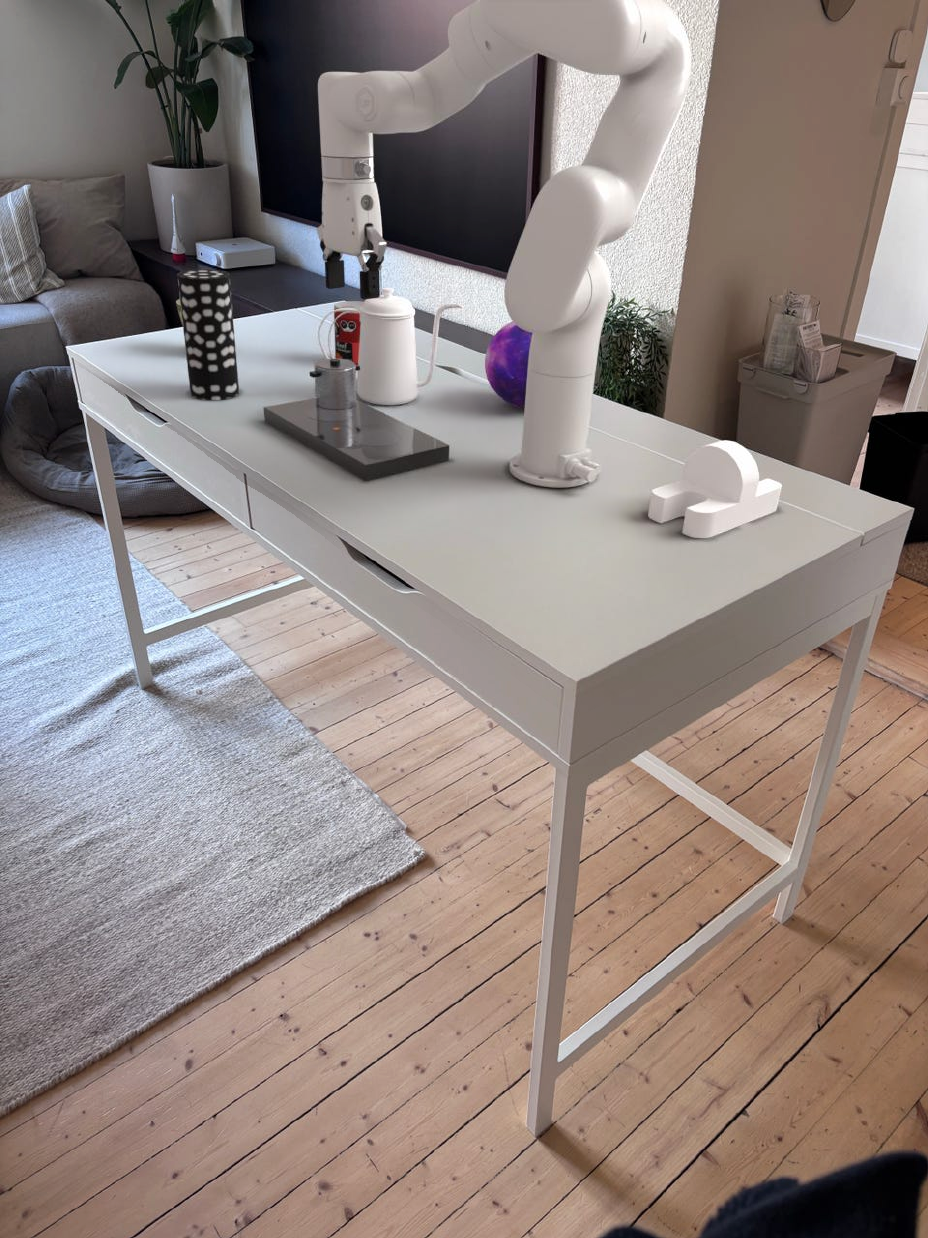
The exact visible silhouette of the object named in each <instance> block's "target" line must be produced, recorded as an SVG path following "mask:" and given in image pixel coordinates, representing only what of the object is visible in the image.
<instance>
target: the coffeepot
mask: <svg viewBox="0 0 928 1238" xmlns="http://www.w3.org/2000/svg"><path fill="white" fill-rule="evenodd" d="M394 292H395V289H394V288H393V287H386V286H385V287H381V288H380V293H383V294H380V297H379V298H373V299H365V300H364V301H363V302H364V303H363V306H362V307H361V308H360V310H358V309H354V308H341V309H336V310H334V309H333V310H332V311H330V312H328V313H327V314H326V316H324V318H323V319H322V320H321V322H320V325H319V327H318V333H317V334H318V335H317V337H318V338H317V339H318V345H319V348H320V349H321V352H322V354H323V356H324V359H336V358H335V355H334V354H335V353H334V351H333V349H332V341H331V339H332V338H331V337H332V329H333V328H334V327H333V326H334V322H335V321H336V319H337V318H338V317H340V316H341V315H343V314H345V313H348V312H354V313H357V312H358V313H359V314H360V322H361V326H360V343H359V359H358V365H359V366H360V370H358V371H357V375H356V395H357V396H358V397H359V398H360V399H361V400H362V401H364V402H366V403H370V404H373V405H379V406H400V405H404V404H408V403H411V402H413V401H414V400H415V399H416V398H417V397H418V395H419V388H421V387H424V386H426V385H428V384H429V383H430V382H431V380H432V379H433V376H434V371H435V366H436V355H437V346H438V337H439V329H440V328H439V327H440V320H441V316H442V313H443V312H445V311H447V310H449V309H464V308H465V307H464V306H463V305H461V304H460V303H457V302H448V303H444V304H443V305H441V306H440V307H438V309H437V310H436V312H435V315H434V320H433V321H434V322H433V330H432V340H431V349H430V356H429V357H430V358H429V365H428V366H429V367H428V371H427V375H426V378H424V380H421V381H418V366H417V363H418V362H417V349H416V346H417V345H416V332H415V331H416V330H415V328H416V327H415V315H416V309H415V308H414V307H413V305H412V302H411V301H410V300H409V299H407V298H406V297H403V296H399V295H392V294H393V293H394ZM337 311H345V312H343V313H341V314H340V315H339V316H338V317H337V318H336V319H335V320H334V319H333V321H332V323H331V325H330V326H329V330H328V336H327V347H328V351H329V355H330V356H329V355H328V354H327V352H326V350H325V347H324V344H323V340H322V328H323V324H324V322H325V320H326V319H327V318H328V316H330V315H332V314H334V312H337ZM330 357H331V358H330Z"/></svg>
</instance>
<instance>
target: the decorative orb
mask: <svg viewBox="0 0 928 1238" xmlns="http://www.w3.org/2000/svg"><path fill="white" fill-rule="evenodd" d="M532 334H533V333H531V332H528V331H525V330H523V329H521V328H520V327H518V326H517V325H516V324H515V323H514V322H513V320H512V321H510V322H508V323H507V324H505V325H503V326H502V327H501V328H500V329H498V331H496V333H495V334H494V335H493V337H492V339H491V340H490V342H489V344H488V346H487V349H486V353H485V358H484V367H485V368H484V369H485V370H484V371H485V375H486V378H487V381H488V383H489V385H490V387H491V389H492V390H493V392H494V393H495V394H496V395H497V396H498V397H499V398H500V399H502V401H504V402H506V403H508V404H510V405H513V406H514V407H519V408H525V397H526V384H527V371H528V360H529V350H530V343H531V338H532Z"/></svg>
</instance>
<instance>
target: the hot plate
mask: <svg viewBox="0 0 928 1238" xmlns="http://www.w3.org/2000/svg"><path fill="white" fill-rule="evenodd" d="M263 420H264V423H266V424H267V425H269V426H271V427H272V428H274V429H276V430H278V431H279V432H280V433H283V434H285V435H286V436H288V437H289V438H291V439H293V440H294V441H296V442H297V443H300V444H302V445H303V446H305V447H306V448H308V449H309V450H312V451H314V452H315V453H317V454H319V455H321V456H322V457H324V458H326V459H327V460H329V461H330V462H332V463H334V464H336V465H337V466H339V467H341V468H342V469H344V470H346V471H348V472H349V473H351V474H353V475H354V476H356V477H357V478H359V479H361V480H362V481H364V482H369V481H373V480H376V479H381V478H385V477H389V476H393V475H397V474H401V473H406V472H409V471H413V470H418V469H421V468H425V467H428V466H433V465H436V464H441V463H445V462H449V461H450V444H447V443H445V442H444V441H442V440H440V439H438V438H436V437H433V436H431V435H430V434H427V433H426V432H423V431H421V430H420V429H417V428H415V427H413V426H411V425H410V424H407V423H405V422H403V421H400V420H399V419H396V418H395V417H393V416H390V415H389V414H387V413H384V412H382V411H380V410H378V409H376V408H374V407H372V406H370V405H368V404H367V403H364V402H362V401H360V400H358V399H356V405H355V406H354V407H351V408H348V409H340V410H333V409H325V408H321V407H319V406H317V405H316V397H311V398H306V399H301V400H296V401H290V402H285V403H279V404H273V405H268V406H263Z"/></svg>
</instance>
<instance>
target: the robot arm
mask: <svg viewBox="0 0 928 1238" xmlns="http://www.w3.org/2000/svg"><path fill="white" fill-rule="evenodd" d="M447 42H448V47H447V48H446V49H445V50H444V51H443V52H442V53H441V54H439V55H438V56H436V57H435V58H433V59H431V61H428V62H427V63H426V64H423V66H421V67H419V68H417V69H416V70H413V71H408V70H370V71H365V72H355V71H354V72H353V71H327V72H323V73H321V74H320V76H319V78H318V81H317V99H318V117H319V118H318V119H319V135H320V136H319V137H320V140H319V141H320V155H321V156H320V159H321V176H322V177H321V179H322V194H321V195H322V196H321V197H322V198H321V224H320V225H319V226H318V227H317V229H316V231H317V232H316V233H317V236H318V240H319V247H320V249H321V252H322V254H321V255H322V260H323V262H324V274H325V276H324V277H325V287H326V289H329V290H332V289H333V290H334V289H341V288H344V287H345V286H346V278H345V277H346V275H345V260H344V259H342V258H343V255H348V256H351V257H356V258H357V261H358V263H359V265H360V267H361V270H359V297H360V299H361V300H364V301H365V300H366V299H373V298H379V297H380V295H381V285H380V284H381V280H380V271H381V270H382V268H383V267H382V264H383V262H384V261H385V253H386V249H387V246H388V245H387V241H386V240H385V239H384V238H383V226H382V215H381V214H382V213H381V205H380V198H379V197H380V196H379V193H378V187H377V183H376V182H375V163H374V161H375V160H374V158H375V157H374V134H375V135H390V134H391V135H392V134H393V135H394V134H400V133H401V134H402V133H403V134H404V133H419V132H423V131H426V130H430V129H431V128H433V127H435V126H436V125H438V124H440V123H442V122H443V121H445V120H447V119H449V118H450V117H452V116H453V115H455V114H457V113H458V112H460V111H462V110H463V109H464V108H465V107H467V106H469V105H470V103H472V102H473V101H474V100H475V99H476V97H478V95H479V94H481V93H482V91H483V90H484V89H485V87H486V85H487V84H489V83H490V82H492V81H494V80H495V79H497V78H498V77H499V76H500V77H501V75H503V74H506V73H507V72H508V71H510V70H511V69H513V68H515V67H516V66H518V65H519V64H521V63H523V62H524V61H526V60H527V59H529V58H531V57H532V56H533V57H534V55H536V54H539V55H542V56H544V57H546V58H549V59H551V60H553V61H556V62H559V63H561V64H563V65H566V66H568V67H570V68H573V69H576V70H578V71H581V72H584V73H587V74H592V75H598V76H599V75H600V76H618V77H619V81H620V82H619V84H618V87H617V90H616V92H615V93H614V95H613V97H612V99H611V100H610V102H609V104H608V105H607V107H606V108H605V110H604V112H603V114H602V116H601V118H600V120H599V123H598V125H597V128H596V131H595V134H594V136H593V139H592V141H591V143H590V146H589V148H588V150H587V153H586V155H585V157H584V159H583V161H582V162H581V164H580V165H574V166H570V167H566V168H563V169H562V170H560V171H558V172H557V173H555V174H553V176H551V177H549V179H548V180H547V181H546V182H545V184H544V185H543V186H542V188H541V189H540V191H539V192H538V194H537V195H536V197H535V200H534V202H533V204H532V207H531V210H530V212H529V215H528V216H527V220H526V221H525V222H526V223H525V225H524V228H523V229H522V230H523V231H522V233H521V236H520V238H519V241H518V244H517V247H516V249H515V252H514V255H513V258H512V261H511V263H510V265H509V268H508V271H507V275H506V280H505V282H504V283H505V284H504V292H503V294H504V305H505V309H506V312H507V314H508V316H509V318H510V319H511V320H512V321H513V322H514V323H515V324H516V325H517V326H518V327H520V328H521V329H523V330H525V331H528V332H531V333H533V334H532V338H531V343H530V350H529V360H528V371H527V384H526V397H525V407H524V410H523V412H524V413H523V425H522V435H521V436H522V438H521V447H520V448H521V449H520V453H517V454H516V455H515V456H513V457H512V458H511V459H510V461H509V466H508V467H509V472H510V473H511V475H512V476H513V477H515V478H516V479H518V480H519V481H522V482H524V483H527V484H530V485H533V486H538V487H545V488H553V489H554V488H557V489H559V488H561V489H563V488H574V487H579V486H583V485H586V484H587V483H593V482H594V481H595V480H596V478H597V477H598V476H597V475H600V474H601V472H602V470H603V466H602V465H601V464H598V463H596V462H593V461H592V452H593V450H592V449H591V448H589V447H588V440H589V431H590V422H591V414H592V405H593V398H594V397H593V395H594V387H595V378H596V371H597V363H598V356H599V350H600V349H599V348H600V342H601V338H602V337H601V336H602V330H603V327H604V322H605V318H606V314H607V311H608V307H609V302H610V297H611V289H612V285H611V282H612V281H611V273H610V271H609V267H608V265H607V262H606V261H605V260H604V259H603V257H602V256H601V255H600V254H599V252H597V251H596V250H597V248H598V247H601V246H605V245H608V244H611V243H614V242H616V241H617V240H619V239H621V238H622V237H623V236H625V235H626V233H627V232H629V230H630V228H631V227H632V224H633V223H634V221H635V218H636V216H637V214H638V211H639V210H640V209H639V208H640V207H641V205H642V202H643V200H644V197H645V195H646V192H647V191H648V188H649V185H650V183H651V181H652V179H653V177H654V174H655V172H656V170H657V168H658V165H659V162H660V161H661V158H662V155H663V153H664V150H665V147H666V145H667V143H668V140H669V138H670V137H671V134H672V132H673V129H674V127H675V125H676V123H677V120H678V118H679V116H680V114H681V111H682V109H683V107H684V105H685V101H686V99H687V98H686V97H687V95H688V92H689V87H690V82H691V76H692V67H693V65H692V64H693V63H692V62H693V61H692V48H691V44H690V39H689V37H688V34H687V31H686V29H685V27H684V24H683V23H682V21H681V19H680V17H679V16H678V15H677V13H676V12H675V11H674V10H673V8H672V7H671V6H670V5H669V4H668V3H666V1H664V0H475V1H474V2H472V3H470V4H469V5H468V6H466V7H465V8H463V9H462V10H460V11H459V12H457V13H455V15H453V17H452V18H451V20H450V21H449V24H448V27H447ZM367 258H368V259H367Z"/></svg>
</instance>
